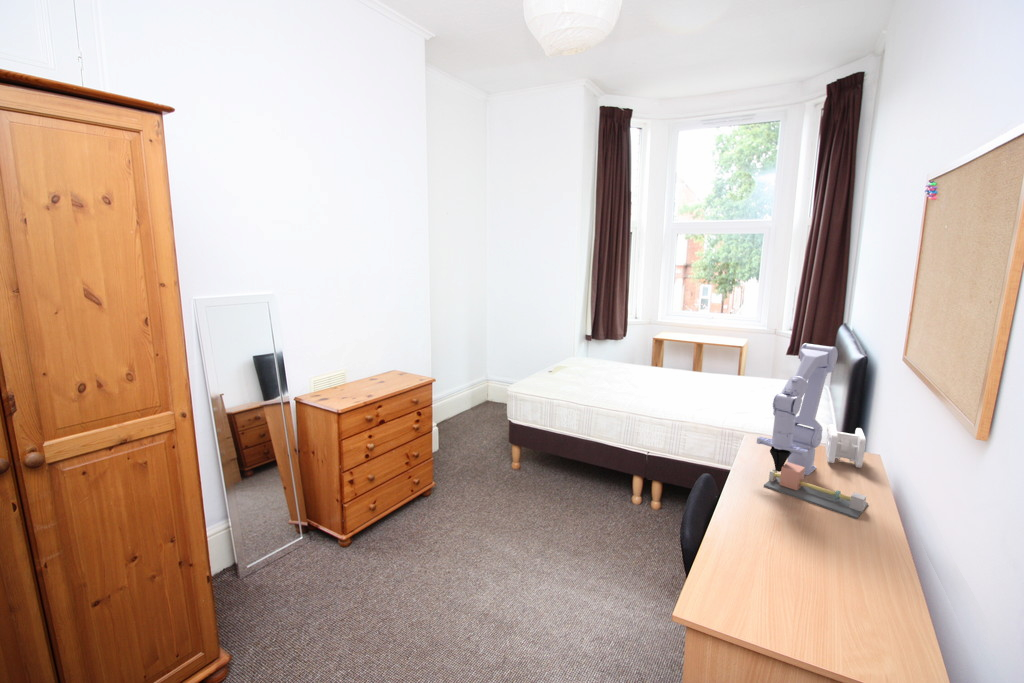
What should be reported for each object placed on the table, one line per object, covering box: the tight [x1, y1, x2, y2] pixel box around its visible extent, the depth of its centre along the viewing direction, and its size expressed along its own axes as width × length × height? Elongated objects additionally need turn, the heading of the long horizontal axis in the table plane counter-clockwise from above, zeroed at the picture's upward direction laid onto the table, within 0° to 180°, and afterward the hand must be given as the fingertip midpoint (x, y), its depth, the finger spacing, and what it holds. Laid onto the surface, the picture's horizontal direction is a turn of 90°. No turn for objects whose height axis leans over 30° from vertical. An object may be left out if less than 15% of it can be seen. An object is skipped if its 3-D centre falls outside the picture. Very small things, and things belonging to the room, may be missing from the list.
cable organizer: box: [824, 424, 867, 468], centre depth 169 cm, size 15×11×12 cm
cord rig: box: [763, 468, 869, 520], centre depth 144 cm, size 12×25×4 cm, turn 42°
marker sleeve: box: [780, 462, 805, 491], centre depth 148 cm, size 6×5×6 cm
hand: (778, 470), depth 151 cm, fingers closed
